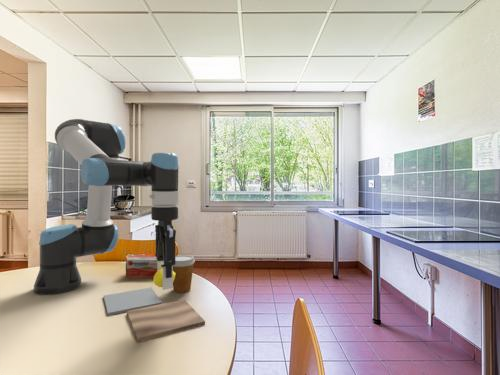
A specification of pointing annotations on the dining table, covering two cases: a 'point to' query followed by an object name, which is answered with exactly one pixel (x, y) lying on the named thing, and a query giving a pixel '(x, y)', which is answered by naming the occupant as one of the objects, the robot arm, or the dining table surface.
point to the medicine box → (141, 266)
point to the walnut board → (163, 319)
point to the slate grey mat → (130, 300)
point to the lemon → (160, 278)
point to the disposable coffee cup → (183, 273)
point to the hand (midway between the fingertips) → (164, 285)
